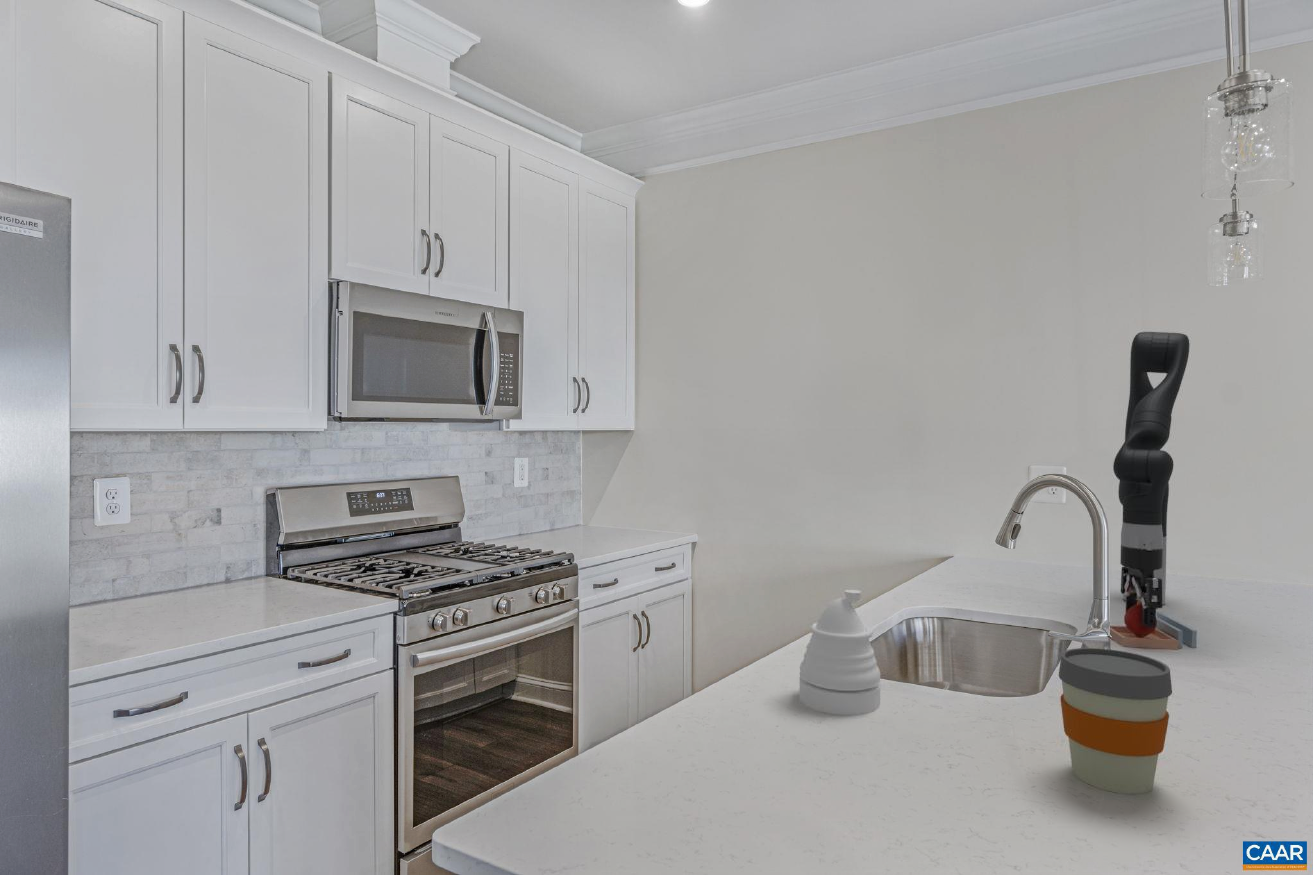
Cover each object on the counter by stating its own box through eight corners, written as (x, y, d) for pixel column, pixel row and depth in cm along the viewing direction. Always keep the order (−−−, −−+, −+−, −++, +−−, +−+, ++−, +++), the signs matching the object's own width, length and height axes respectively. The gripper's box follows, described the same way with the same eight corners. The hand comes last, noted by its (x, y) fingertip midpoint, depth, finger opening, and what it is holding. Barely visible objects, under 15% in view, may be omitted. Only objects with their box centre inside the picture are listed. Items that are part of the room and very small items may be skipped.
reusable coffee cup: (1042, 776, 101) (1044, 660, 101) (1075, 748, 110) (1077, 641, 109) (1155, 811, 92) (1157, 684, 92) (1181, 778, 101) (1183, 662, 100)
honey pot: (880, 691, 133) (881, 585, 132) (880, 718, 120) (881, 601, 120) (802, 684, 136) (804, 580, 136) (795, 710, 124) (796, 596, 123)
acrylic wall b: (1144, 628, 176) (1144, 612, 176) (1148, 628, 176) (1148, 612, 176) (1178, 648, 160) (1178, 630, 160) (1182, 648, 160) (1182, 631, 160)
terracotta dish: (1104, 633, 171) (1104, 625, 171) (1155, 636, 169) (1155, 627, 169) (1123, 646, 161) (1123, 637, 161) (1178, 649, 159) (1178, 640, 159)
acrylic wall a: (1156, 627, 176) (1157, 612, 176) (1160, 627, 176) (1161, 612, 176) (1192, 647, 161) (1192, 630, 161) (1196, 647, 160) (1196, 630, 160)
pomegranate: (1147, 634, 168) (1148, 597, 167) (1161, 642, 162) (1163, 604, 162) (1118, 633, 168) (1119, 596, 168) (1132, 641, 163) (1133, 603, 162)
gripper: (1108, 539, 172) (1107, 612, 173) (1136, 549, 158) (1134, 629, 159) (1146, 540, 171) (1144, 614, 171) (1177, 550, 157) (1175, 631, 157)
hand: (1140, 621), depth 165 cm, fingers open, 8 cm apart
